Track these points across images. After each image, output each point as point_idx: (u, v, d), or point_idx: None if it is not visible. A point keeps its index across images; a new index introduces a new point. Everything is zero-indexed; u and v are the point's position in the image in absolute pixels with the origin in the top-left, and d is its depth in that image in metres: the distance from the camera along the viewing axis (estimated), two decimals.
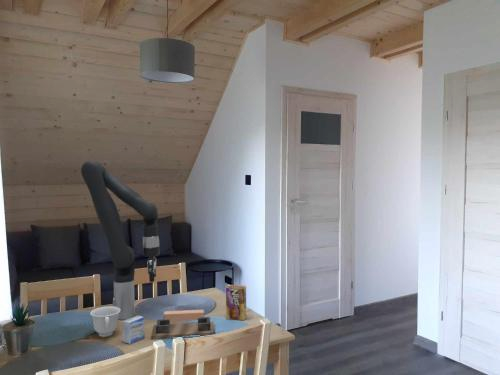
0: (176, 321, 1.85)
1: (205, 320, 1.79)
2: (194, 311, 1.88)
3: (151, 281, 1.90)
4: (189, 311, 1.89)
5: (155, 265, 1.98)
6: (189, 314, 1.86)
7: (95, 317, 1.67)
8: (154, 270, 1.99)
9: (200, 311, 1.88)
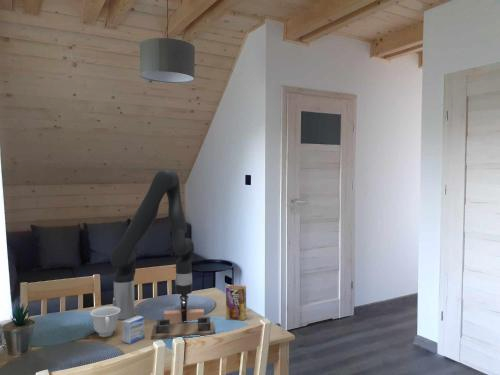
0: (176, 320, 1.85)
1: (205, 320, 1.79)
2: (194, 310, 1.88)
3: (183, 320, 1.85)
4: (189, 310, 1.89)
5: None
6: (189, 313, 1.86)
7: (95, 317, 1.67)
8: None
9: (200, 311, 1.88)
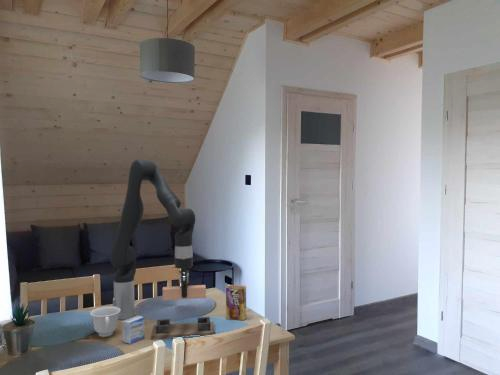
0: (176, 297, 1.72)
1: (205, 320, 1.79)
2: (195, 286, 1.75)
3: (183, 297, 1.72)
4: (190, 286, 1.76)
5: None
6: (190, 289, 1.73)
7: (95, 317, 1.67)
8: None
9: (201, 286, 1.75)
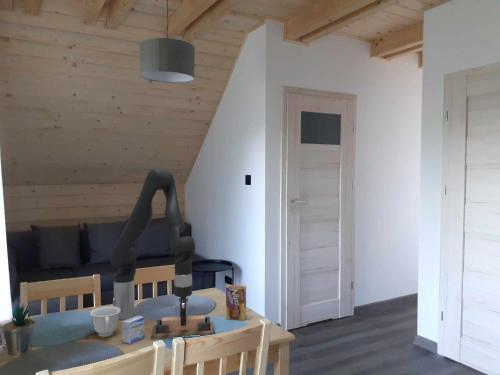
0: (175, 328, 1.72)
1: (205, 320, 1.79)
2: (194, 317, 1.75)
3: (182, 325, 1.71)
4: (189, 317, 1.76)
5: (186, 306, 1.77)
6: (189, 320, 1.73)
7: (95, 317, 1.67)
8: (185, 312, 1.78)
9: (200, 317, 1.75)
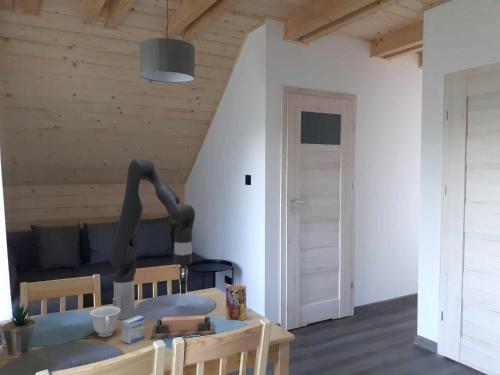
0: (175, 328, 1.72)
1: (205, 320, 1.79)
2: (194, 317, 1.75)
3: (182, 293, 1.72)
4: (189, 317, 1.76)
5: None
6: (189, 320, 1.73)
7: (95, 317, 1.67)
8: None
9: (200, 317, 1.75)
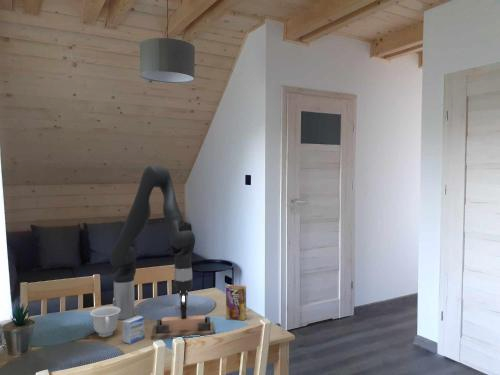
0: (175, 328, 1.72)
1: (205, 320, 1.79)
2: (194, 317, 1.75)
3: (183, 318, 1.74)
4: (189, 317, 1.76)
5: None
6: (189, 320, 1.73)
7: (95, 317, 1.67)
8: None
9: (200, 317, 1.75)
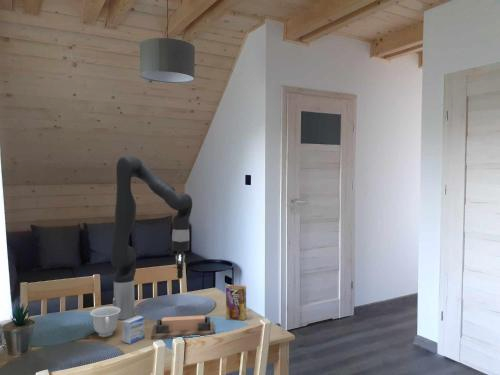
0: (175, 328, 1.72)
1: (205, 320, 1.79)
2: (194, 317, 1.75)
3: (179, 277, 1.80)
4: (189, 317, 1.76)
5: None
6: (189, 320, 1.73)
7: (95, 317, 1.67)
8: None
9: (200, 317, 1.75)
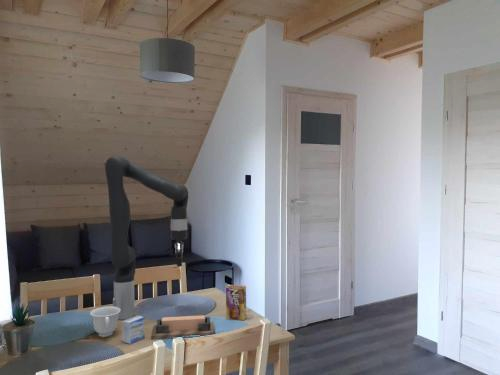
0: (175, 328, 1.72)
1: (205, 320, 1.79)
2: (194, 317, 1.75)
3: (178, 265, 1.88)
4: (189, 317, 1.76)
5: None
6: (189, 320, 1.73)
7: (95, 317, 1.67)
8: None
9: (200, 317, 1.75)
